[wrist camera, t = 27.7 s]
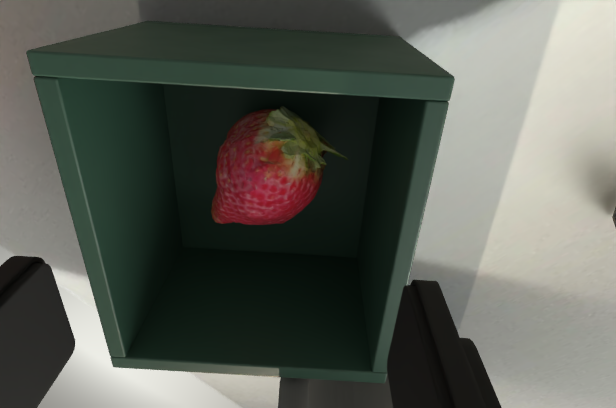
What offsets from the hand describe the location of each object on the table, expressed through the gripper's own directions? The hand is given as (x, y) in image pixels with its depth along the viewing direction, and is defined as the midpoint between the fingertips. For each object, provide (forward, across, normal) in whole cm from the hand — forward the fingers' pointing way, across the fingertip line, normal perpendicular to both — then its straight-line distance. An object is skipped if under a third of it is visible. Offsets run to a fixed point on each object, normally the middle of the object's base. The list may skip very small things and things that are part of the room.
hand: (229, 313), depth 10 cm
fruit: (+9, 0, 0) cm, 9 cm away
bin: (+10, 0, 0) cm, 10 cm away
